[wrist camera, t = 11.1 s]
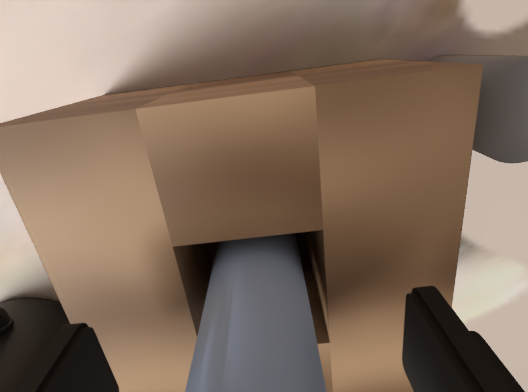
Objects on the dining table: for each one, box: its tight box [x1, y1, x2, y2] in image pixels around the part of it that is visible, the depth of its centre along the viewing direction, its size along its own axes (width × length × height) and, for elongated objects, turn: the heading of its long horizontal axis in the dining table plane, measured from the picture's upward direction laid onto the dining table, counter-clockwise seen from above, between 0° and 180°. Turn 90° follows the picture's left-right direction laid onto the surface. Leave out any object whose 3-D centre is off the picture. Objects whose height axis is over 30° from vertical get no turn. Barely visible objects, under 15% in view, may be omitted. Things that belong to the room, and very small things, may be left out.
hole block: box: [0, 59, 483, 392], centre depth 16 cm, size 14×14×8 cm
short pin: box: [429, 55, 528, 163], centre depth 14 cm, size 4×4×6 cm
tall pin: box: [185, 233, 327, 392], centre depth 13 cm, size 4×4×14 cm
